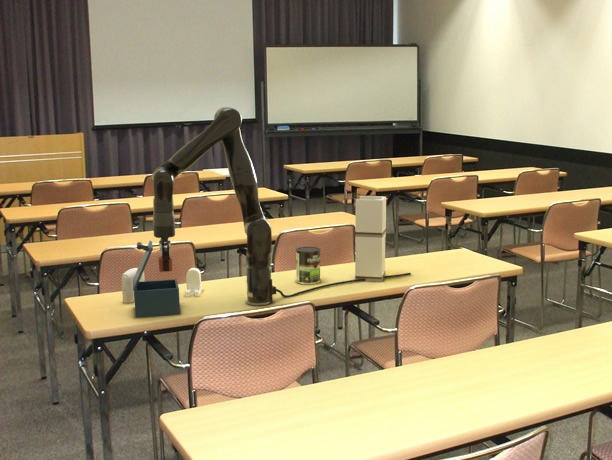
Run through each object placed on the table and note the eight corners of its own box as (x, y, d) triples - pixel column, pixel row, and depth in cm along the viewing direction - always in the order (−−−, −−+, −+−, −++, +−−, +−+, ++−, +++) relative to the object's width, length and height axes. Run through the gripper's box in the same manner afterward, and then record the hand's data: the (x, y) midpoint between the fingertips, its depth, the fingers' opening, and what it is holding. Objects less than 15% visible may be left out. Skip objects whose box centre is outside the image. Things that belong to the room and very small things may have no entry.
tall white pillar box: (385, 275, 331) (386, 196, 324) (381, 281, 320) (382, 200, 313) (359, 274, 333) (360, 195, 326) (355, 280, 322) (355, 199, 315)
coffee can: (325, 281, 320) (325, 249, 317) (306, 286, 313) (305, 252, 311) (310, 277, 328) (310, 245, 325) (291, 281, 321) (290, 248, 318)
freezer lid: (151, 241, 281) (138, 236, 279) (153, 248, 268) (139, 243, 266) (134, 281, 282) (121, 276, 280) (135, 290, 269) (121, 285, 267)
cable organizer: (202, 289, 307) (201, 265, 305) (199, 296, 298) (198, 271, 296) (189, 289, 307) (188, 266, 305) (185, 296, 297) (184, 272, 295)
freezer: (177, 303, 288) (176, 279, 286) (180, 314, 275) (178, 288, 273) (135, 307, 283) (133, 281, 281) (135, 318, 271) (133, 291, 269)
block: (171, 268, 279) (171, 256, 278) (172, 271, 275) (172, 259, 274) (159, 269, 278) (158, 257, 277) (159, 272, 273) (159, 259, 273)
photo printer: (130, 304, 287) (128, 272, 285) (121, 302, 289) (119, 271, 287) (147, 296, 297) (145, 266, 294) (138, 295, 298) (136, 265, 296)
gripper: (176, 226, 267) (177, 273, 271) (173, 219, 281) (174, 264, 284) (154, 227, 265) (156, 274, 268) (152, 220, 279) (154, 265, 282)
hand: (165, 269), depth 276 cm, fingers closed on block, 4 cm apart
